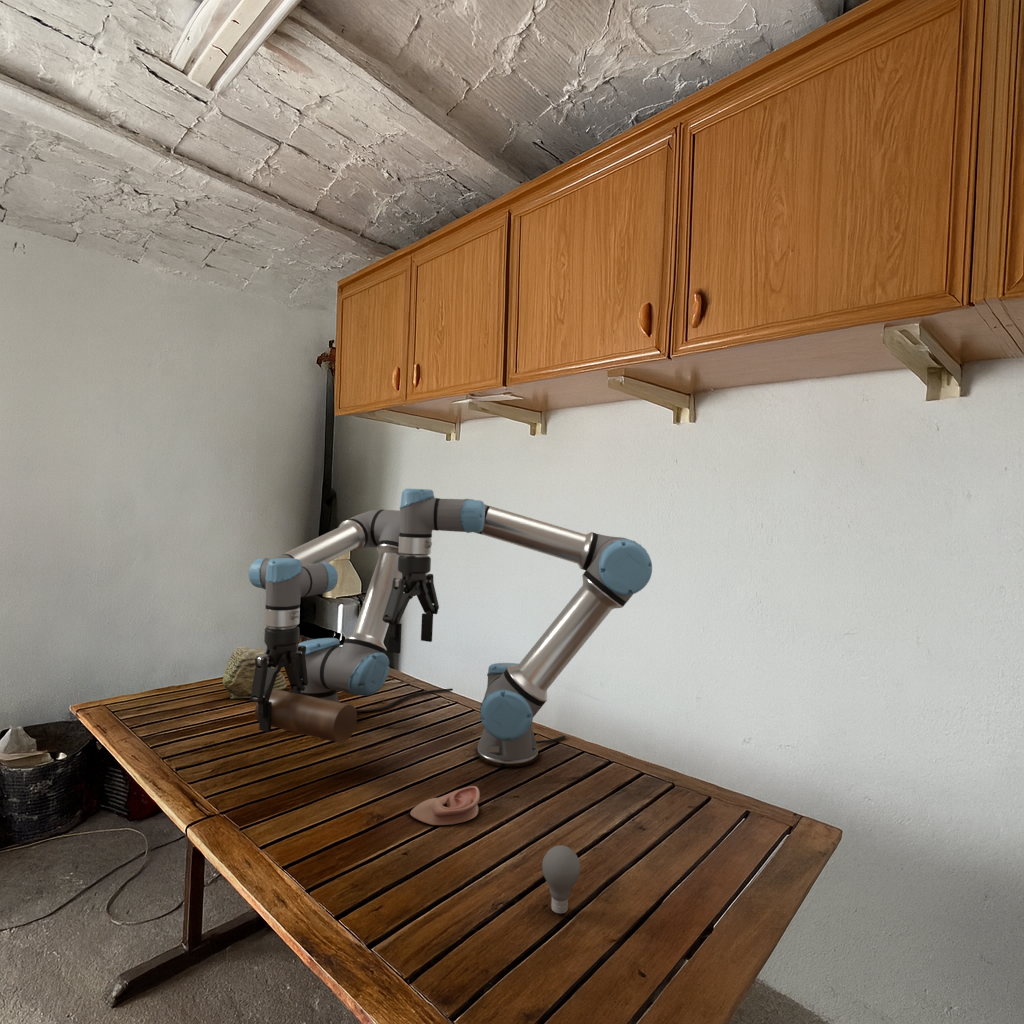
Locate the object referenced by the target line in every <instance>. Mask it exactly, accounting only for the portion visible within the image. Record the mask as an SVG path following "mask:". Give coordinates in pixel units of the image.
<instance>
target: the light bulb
mask: <svg viewBox="0 0 1024 1024" xmlns="http://www.w3.org/2000/svg"><path fill="white" fill-rule="evenodd" d="M541 868H542V869H541V870H542V874H543V877H544V879H545V881H546V883H547V885H548V888H549V894H550V896H551V903H550V905H551V906H550V909H551V910H552V911H553V912H554V913H556V914H564V913H566V912H568V908H569V907H568V905H569V898H570V896H571V892H572V889H573V887H574V886H575V885H576V883H577V881H578V880H579V877H580V874H581V861H580V859H579V857H578V855H577V854H576V852H575V851H574V850H573V849H571V847H569V846H566V845H561V844H560V845H555V846H553V847H551V848H550V849H549V850H548V851H547V852H546V853H545V855H544V856H543V859H542V864H541Z"/></svg>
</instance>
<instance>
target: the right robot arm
mask: <svg viewBox="0 0 1024 1024" xmlns="http://www.w3.org/2000/svg"><path fill="white" fill-rule="evenodd" d="M399 511H400V533H399V548H398V552H399V553H400V554H401V556H399V557H398V571H399V572H401V573H402V578H401V579H399V578H394V579H393V583H392V590H391V593H390V596H389V599H388V602H387V606H386V609H385V612H384V615H383V621H384V622H385V623H389V625H388V646H387V647H388V648H387V650H388V651H387V652H388V653H393V654H401V649H402V627H403V626H402V625H403V624H402V623H401V620H402V618H403V615H404V613H405V611H406V608H407V607H408V605H409V602H410V600H412V599H413V598H414V597H417V600H418V602H419V604H420V606H421V608H422V610H423V613H421V625H420V626H421V627H420V628H421V629H420V630H421V631H420V641H421V642H422V641H423V642H428V643H432V642H433V628H434V627H433V626H434V615H437V614H438V613H439V609H440V604H439V601H438V597H437V592H436V588H435V583H434V574H433V573H430V572H431V568H432V558H431V556H429V555H431V554H432V545H433V542H432V537H433V531H437V532H439V531H442V532H456V533H457V532H458V533H466V534H470V533H474V534H478V535H482V536H485V537H488V538H491V539H495V540H498V541H501V542H505V543H508V544H512V545H515V546H518V547H521V548H525V549H527V550H531V551H534V552H537V553H541V554H544V555H548V556H551V557H553V558H557V559H560V560H564V561H567V562H571V563H574V564H576V565H578V568H579V569H580V570H583V571H584V572H583V573H582V575H581V577H582V585H581V586H580V587H579V589H578V590H577V591H576V593H575V594H574V595H573V597H572V598H571V599H570V600H569V601H568V603H567V604H566V605H565V607H564V608H563V609H562V610H561V611H560V613H558V615H557V616H556V617H555V619H554V620H553V621H552V623H551V624H550V625H549V626H548V627H547V629H546V630H544V633H543V634H542V635H541V636H540V637H539V639H538V640H537V641H536V642H535V644H534V645H533V646H531V649H530V650H529V651H528V652H527V653H526V655H525V656H524V657H523V658H522V659H521V661H520V662H519V663H515V662H495V663H492V664H490V665H489V666H488V668H487V669H488V670H487V673H486V676H487V685H486V691H485V693H484V696H483V699H482V701H481V704H480V707H479V708H480V709H479V710H480V722H481V724H482V726H483V731H482V733H481V736H480V738H479V741H478V744H477V750H476V751H477V752H476V753H477V757H478V759H479V760H481V761H482V762H484V763H486V764H489V765H490V766H491V765H492V766H494V767H500V768H501V767H502V768H519V767H524V766H525V767H526V766H528V765H531V764H533V763H534V762H536V761H537V759H538V757H539V755H538V754H539V749H538V744H546V743H547V744H548V743H553V742H557V741H561V740H564V739H566V736H565V735H561V736H558V737H555V738H551V739H540V740H536V737H535V733H534V729H533V721H534V718H535V716H536V715H537V714H538V712H539V711H540V710H541V709H542V708H543V706H544V705H545V703H546V702H548V689H549V688H550V687H551V686H552V685H553V683H554V682H555V681H556V679H557V678H558V677H559V676H560V674H561V673H562V672H563V671H564V669H565V668H566V667H567V666H568V665H569V664H570V662H571V661H572V660H573V658H574V657H575V656H576V655H577V654H578V652H579V651H580V650H581V648H582V647H584V645H585V644H586V642H587V641H588V640H589V639H590V637H591V636H592V635H593V634H594V632H595V631H597V629H598V628H599V627H600V625H601V624H602V623H603V621H604V620H605V619H606V618H607V617H608V616H609V614H610V613H611V611H612V610H614V609H615V610H616V609H622V608H624V607H625V606H626V604H627V603H628V602H629V600H631V598H632V597H633V595H635V594H637V593H639V592H640V591H642V590H644V588H645V587H646V586H647V585H648V583H649V582H650V579H651V577H652V573H653V564H652V559H651V556H650V554H649V553H648V551H647V550H646V548H645V547H644V546H642V544H641V543H638V542H636V541H635V540H632V539H629V538H626V537H621V536H612V535H611V536H610V535H604V534H600V533H596V532H593V531H590V532H589V533H582V532H579V531H575V530H573V529H569V528H565V527H562V526H560V525H559V526H558V525H555V524H552V523H548V522H546V521H541V520H538V519H535V518H532V517H528V516H525V515H522V514H518V513H515V512H512V511H509V510H505V509H502V508H498V507H495V506H491V505H487V504H485V503H484V501H482V500H477V499H472V498H471V499H470V498H440V497H439V498H438V497H435V493H434V490H433V489H426V488H425V489H424V488H405V489H403V490H402V491H401V498H400V506H399Z"/></svg>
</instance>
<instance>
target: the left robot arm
mask: <svg viewBox="0 0 1024 1024" xmlns="http://www.w3.org/2000/svg"><path fill="white" fill-rule="evenodd" d="M399 533H400V510H395V509H383V508H381V509H380V508H379V509H378V508H377V509H372V510H369V511H368V510H367V511H364V512H362V513H359V514H357V515H354V516H352V517H350V518H348V519H346V520H343V521H342V522H341V523H340V524H339V525H338V527H337V528H334V529H332V530H331V531H328V532H326V533H324V534H322V535H320V536H318V537H316V538H314V539H311V540H310V541H308V542H306V543H303V544H301V545H299V546H297V547H295V548H293V549H291V550H288V551H287V552H286V551H285V552H284V553H283V554H280V555H278V556H276V557H274V558H268V557H264V558H258V559H255V560H254V561H253V562H252V563H251V564H250V567H249V569H248V580H249V582H250V584H251V585H252V586H254V587H255V588H259V589H262V590H265V608H264V626H266V627H265V628H264V641H263V642H264V644H265V646H266V650H265V655H263V656H261V657H260V656H256V657H255V666H256V668H255V674H254V680H253V686H252V692H251V698H249V700H250V701H251V702H253V703H257V702H258V717H260V719H259V722H258V725H259V726H258V730H259V731H262V732H266V733H269V732H272V726H271V709H272V702H269V699H270V696H271V693H272V689H273V686H274V683H275V680H276V677H277V674H278V673H279V672H281V670H282V668H284V670H285V673H286V676H287V679H288V682H289V683H288V684H289V685H290V689H289V690H288V691H287V692H292V693H297V694H302V695H307V696H311V697H316V698H321V699H326V700H330V701H335V702H340V699H339V695H338V692H342V693H347V694H351V695H353V696H364V697H369V696H372V695H375V694H376V693H377V692H379V691H380V690H381V689H382V687H383V686H384V684H385V683H386V681H387V679H388V675H389V674H390V669H391V668H390V666H389V665H390V659H389V656H387V654H386V653H387V650H388V648H387V647H386V646H385V644H384V641H385V638H386V634H387V632H388V630H389V623H385V622H384V621H383V615H384V612H385V609H386V606H387V602H388V599H389V596H390V593H391V590H392V583H393V579H394V578H399V579H401V578H402V573H401V572H399V571H398V557H399V556H401V554H400V553H399V552H398V548H399ZM366 548H376V550H377V552H378V554H379V557H378V559H377V562H376V564H375V568H374V571H373V573H372V577H371V579H370V582H369V585H368V588H367V591H366V594H365V597H364V600H363V603H362V605H361V609H360V611H359V615H358V617H357V620H356V623H355V627H354V629H353V632H352V633H351V634H350V635H348V636H346V637H345V638H344V641H343V644H342V646H341V645H340V644H341V643H340V640H339V638H336V637H322V638H313V639H307V640H304V641H302V642H300V627H299V624H300V615H301V613H300V610H301V598H305V597H311V596H316V595H323V594H326V593H330V592H331V591H333V590H334V589H335V588H336V587H337V584H338V581H339V574H338V571H337V568H336V567H335V566H334V564H331V563H330V562H332V561H334V560H336V559H338V558H339V557H341V556H343V555H345V554H347V553H349V552H351V551H352V552H358V551H360V550H362V549H366ZM271 666H272V667H274V668H271ZM453 689H454V688H439V689H438V688H437V689H431V690H423V691H419V692H415V693H411V694H408V695H405V696H403V697H401V698H398V699H396V700H394V701H392V702H390V703H389V704H387V705H384V706H381V707H375V708H369V709H367V708H366V709H356V712H357V714H359V713H371V712H377V711H383V710H385V709H388V708H390V707H392V706H394V705H395V704H397V703H400V702H402V701H404V700H407V699H409V698H412V697H415V696H419V695H425V694H431V693H439V692H440V693H441V692H453V691H454V690H453ZM263 696H265V697H263Z"/></svg>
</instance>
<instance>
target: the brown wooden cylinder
mask: <svg viewBox="0 0 1024 1024" xmlns="http://www.w3.org/2000/svg"><path fill="white" fill-rule="evenodd" d="M263 697H265V696H263ZM269 702H272V709H271V728H277V729H281V730H285V731H289V732H292V733H297V734H301V735H306V736H310V737H314V738H317V739H322V740H326V741H331V742H334V743H338V744H343V743H345V742H347V741H348V740H350V738H351V737H352V735H353V734H354V732H355V730H356V726H357V722H358V713H357V712H356V710H357V709H356V708H355V706H354V705H352V704H349V703H344V702H340V701H339V702H335V701H330V700H326V699H321V698H316V697H311V696H307V695H302V694H297V693H292V692H288V691H287V690H285V691H283V690H278V689H272V693H271V696H270V699H269ZM254 717H255V720H256V721H257V722H258V723H259V719H260V717H258V702H255V707H254Z"/></svg>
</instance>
